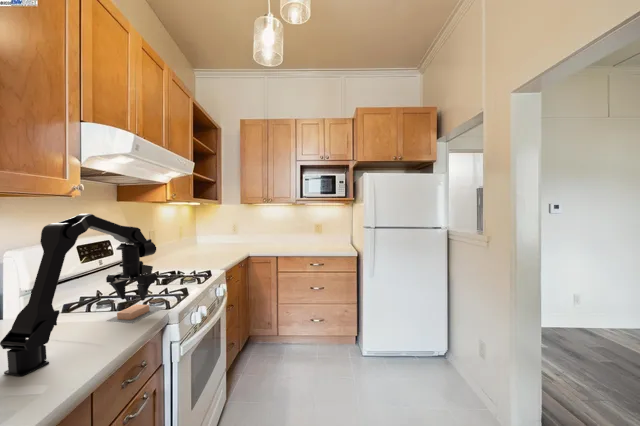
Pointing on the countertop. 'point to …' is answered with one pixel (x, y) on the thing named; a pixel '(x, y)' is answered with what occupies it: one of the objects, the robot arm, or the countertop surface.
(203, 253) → the countertop surface
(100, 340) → the countertop surface
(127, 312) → the tan flat block
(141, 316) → the mat
